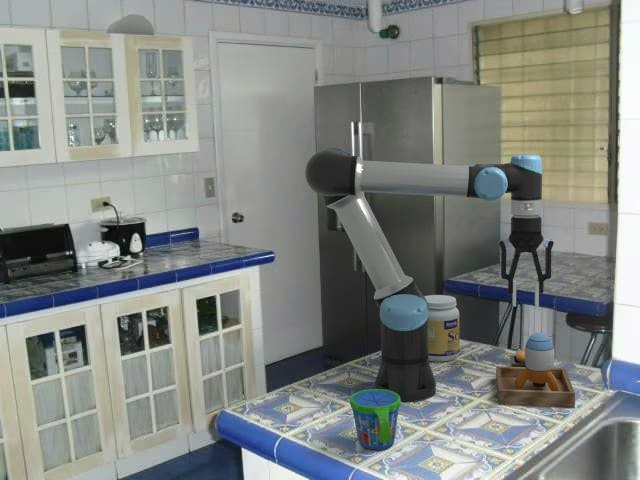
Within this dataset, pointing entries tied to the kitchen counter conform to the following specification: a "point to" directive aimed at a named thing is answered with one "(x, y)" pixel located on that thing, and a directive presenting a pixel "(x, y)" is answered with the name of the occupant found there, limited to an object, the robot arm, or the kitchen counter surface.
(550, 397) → the open wooden tray
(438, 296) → the supplement tub
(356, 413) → the snack cup
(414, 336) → the robot arm
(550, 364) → the toy rocket
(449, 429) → the kitchen counter surface
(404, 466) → the kitchen counter surface
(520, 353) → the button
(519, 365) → the button housing
